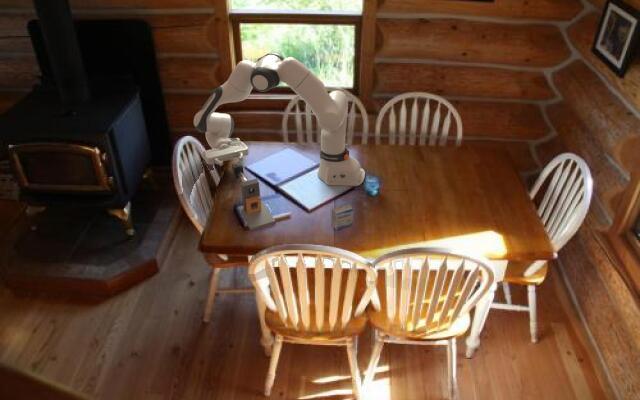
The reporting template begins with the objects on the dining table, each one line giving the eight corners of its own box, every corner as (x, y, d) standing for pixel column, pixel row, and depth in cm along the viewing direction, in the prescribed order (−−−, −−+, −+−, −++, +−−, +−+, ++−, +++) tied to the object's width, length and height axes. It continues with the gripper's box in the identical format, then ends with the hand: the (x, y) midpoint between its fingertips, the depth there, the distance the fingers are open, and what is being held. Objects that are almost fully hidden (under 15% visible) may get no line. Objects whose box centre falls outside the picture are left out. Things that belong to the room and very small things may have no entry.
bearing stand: (237, 209, 226) (234, 182, 217) (261, 202, 230) (259, 175, 221) (250, 231, 214) (247, 202, 205) (275, 223, 218) (273, 195, 209)
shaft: (233, 175, 232) (231, 164, 229) (241, 173, 234) (240, 162, 230) (245, 195, 221) (244, 183, 217) (254, 192, 222) (253, 181, 218)
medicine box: (336, 230, 214) (336, 214, 209) (330, 224, 218) (331, 208, 212) (352, 225, 217) (353, 208, 212) (347, 219, 221) (347, 202, 215)
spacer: (246, 211, 222) (245, 199, 218) (259, 207, 224) (258, 195, 221) (248, 214, 221) (247, 201, 217) (261, 210, 223) (260, 197, 219)
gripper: (199, 146, 240) (208, 161, 230) (241, 137, 247) (252, 150, 237) (201, 158, 244) (210, 173, 234) (243, 148, 251) (253, 162, 241)
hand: (231, 161), depth 236 cm, fingers open, 8 cm apart
